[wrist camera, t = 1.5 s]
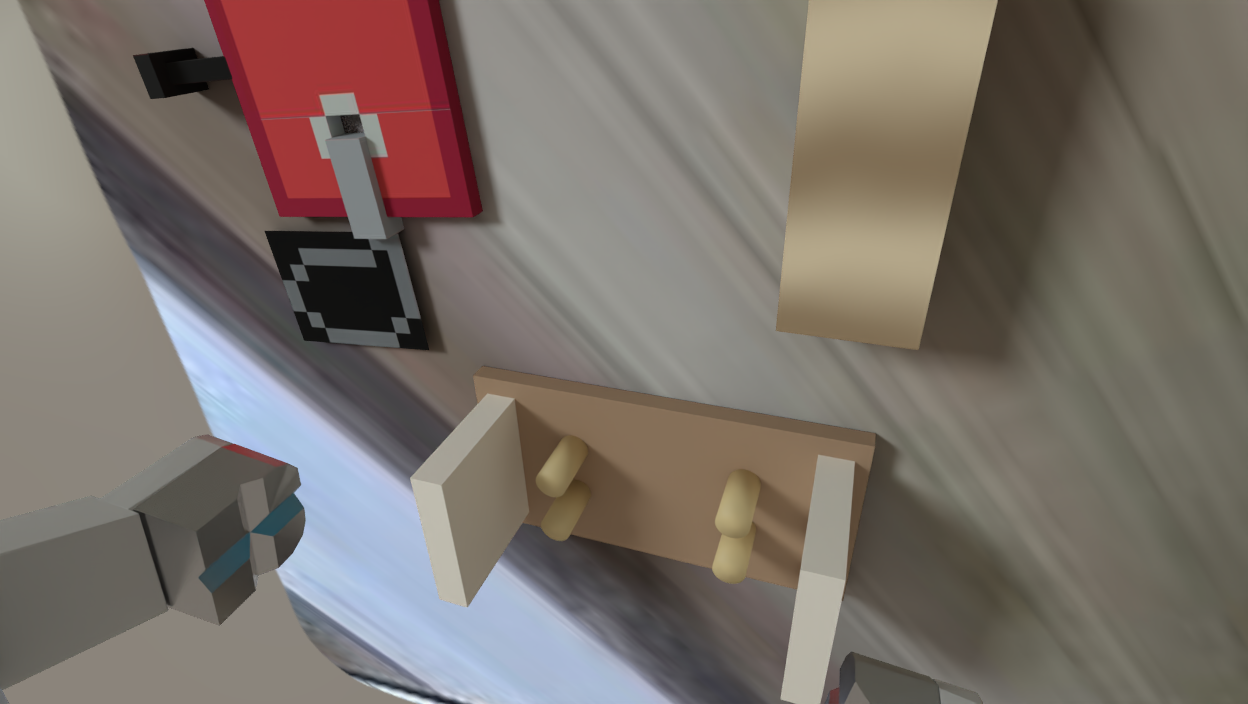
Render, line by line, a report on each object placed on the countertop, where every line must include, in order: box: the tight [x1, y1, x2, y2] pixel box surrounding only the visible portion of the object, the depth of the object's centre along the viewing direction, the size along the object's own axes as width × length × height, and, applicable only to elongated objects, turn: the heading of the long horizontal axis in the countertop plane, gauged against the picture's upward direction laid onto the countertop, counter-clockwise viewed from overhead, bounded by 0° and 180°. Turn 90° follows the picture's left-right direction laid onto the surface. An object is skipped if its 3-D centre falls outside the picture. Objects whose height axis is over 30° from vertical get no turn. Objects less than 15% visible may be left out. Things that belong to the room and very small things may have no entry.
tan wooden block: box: [776, 0, 998, 350], centre depth 23 cm, size 13×5×4 cm, turn 1°
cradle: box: [410, 366, 876, 704], centre depth 33 cm, size 20×10×8 cm, turn 91°
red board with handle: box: [133, 0, 483, 350], centre depth 30 cm, size 30×3×15 cm
